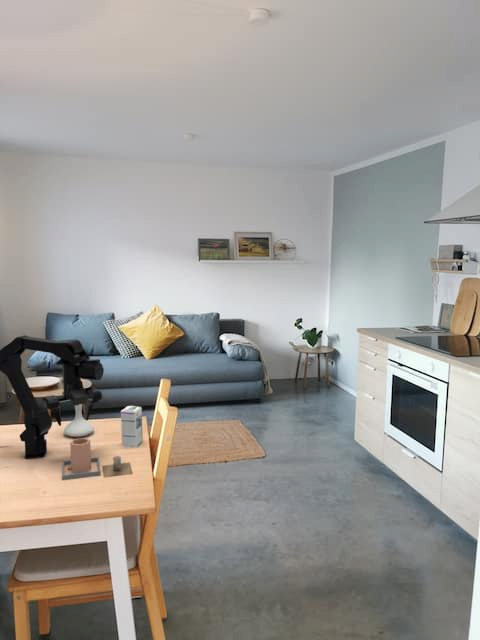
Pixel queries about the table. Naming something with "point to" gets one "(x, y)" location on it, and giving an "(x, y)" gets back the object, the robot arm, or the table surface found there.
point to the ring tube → (80, 455)
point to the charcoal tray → (81, 475)
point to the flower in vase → (77, 422)
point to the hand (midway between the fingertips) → (73, 422)
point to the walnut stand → (117, 468)
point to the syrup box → (131, 426)
